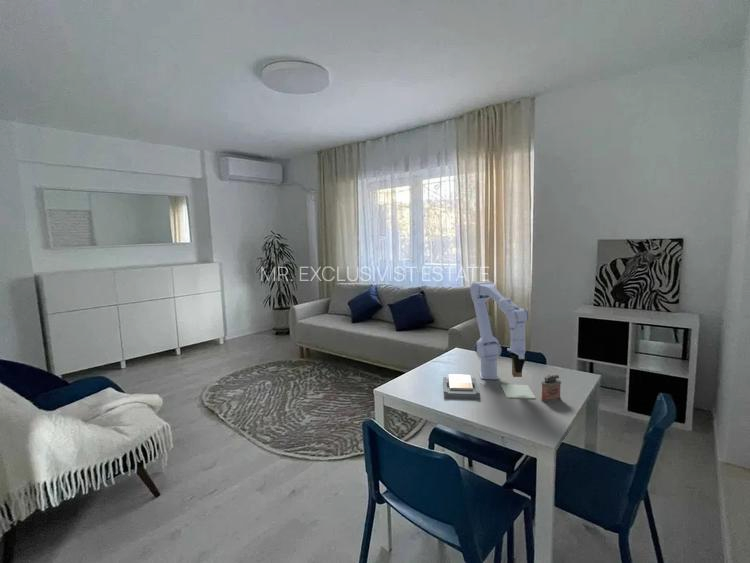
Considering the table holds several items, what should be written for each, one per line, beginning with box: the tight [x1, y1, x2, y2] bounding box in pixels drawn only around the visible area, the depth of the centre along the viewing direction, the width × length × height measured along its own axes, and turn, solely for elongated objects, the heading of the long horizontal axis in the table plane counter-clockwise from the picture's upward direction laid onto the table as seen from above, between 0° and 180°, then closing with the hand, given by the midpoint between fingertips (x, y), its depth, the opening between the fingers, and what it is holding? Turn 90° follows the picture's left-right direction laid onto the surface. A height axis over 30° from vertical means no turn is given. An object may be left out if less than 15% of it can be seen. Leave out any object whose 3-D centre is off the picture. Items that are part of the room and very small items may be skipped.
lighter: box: [541, 373, 562, 404], centre depth 143 cm, size 8×3×10 cm, turn 105°
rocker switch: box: [448, 373, 473, 390], centre depth 155 cm, size 10×9×1 cm
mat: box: [500, 384, 537, 400], centre depth 152 cm, size 13×11×1 cm
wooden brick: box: [511, 358, 523, 378], centre depth 151 cm, size 3×3×7 cm
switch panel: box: [442, 376, 481, 400], centre depth 155 cm, size 16×14×4 cm
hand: (517, 370), depth 151 cm, fingers closed on wooden brick, 3 cm apart
